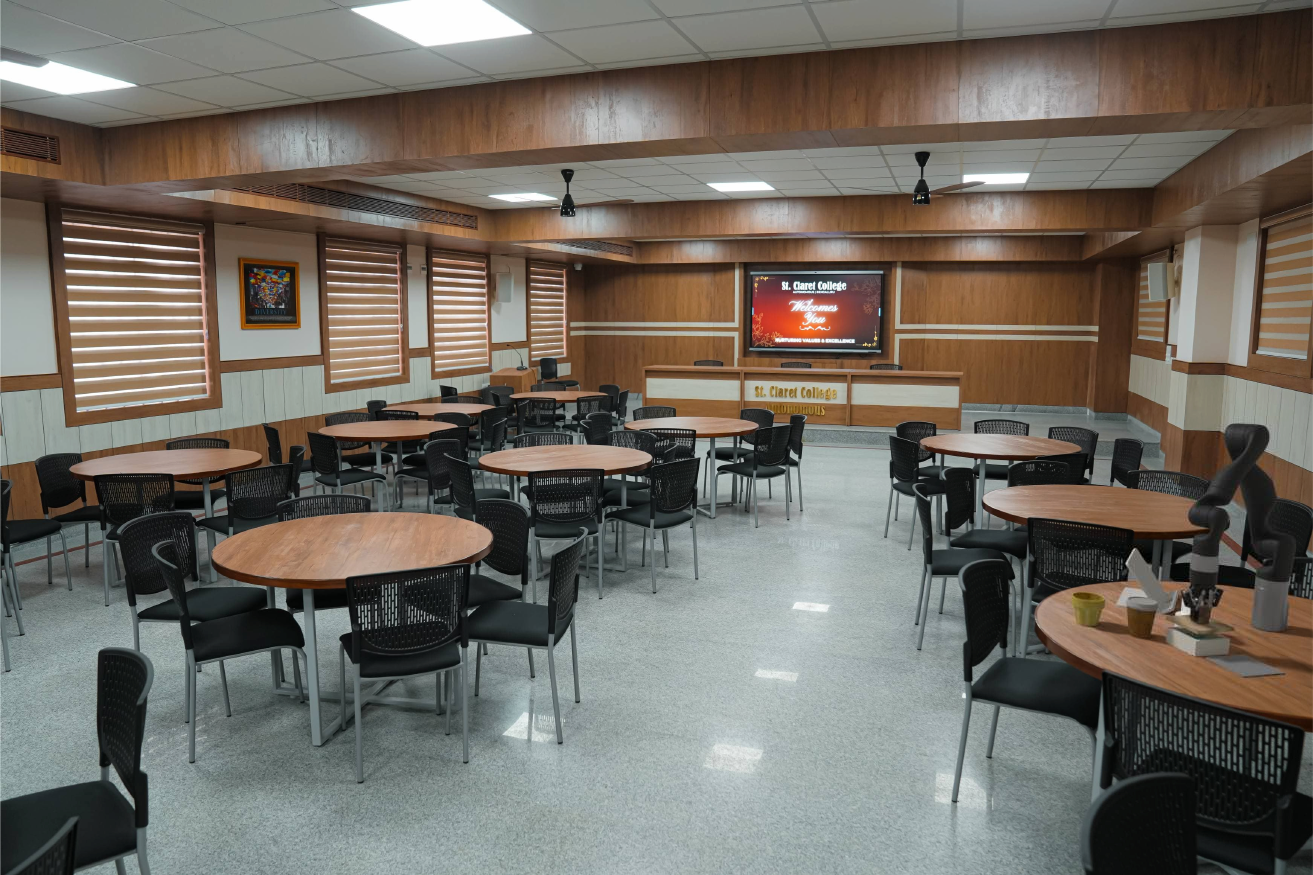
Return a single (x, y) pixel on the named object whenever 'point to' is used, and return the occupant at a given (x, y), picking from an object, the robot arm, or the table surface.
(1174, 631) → the box
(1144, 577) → the tablet stand
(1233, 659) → the mat
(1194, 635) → the ball
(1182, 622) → the lid
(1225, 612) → the table surface
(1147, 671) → the table surface
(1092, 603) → the plant pot
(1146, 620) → the disposable coffee cup
